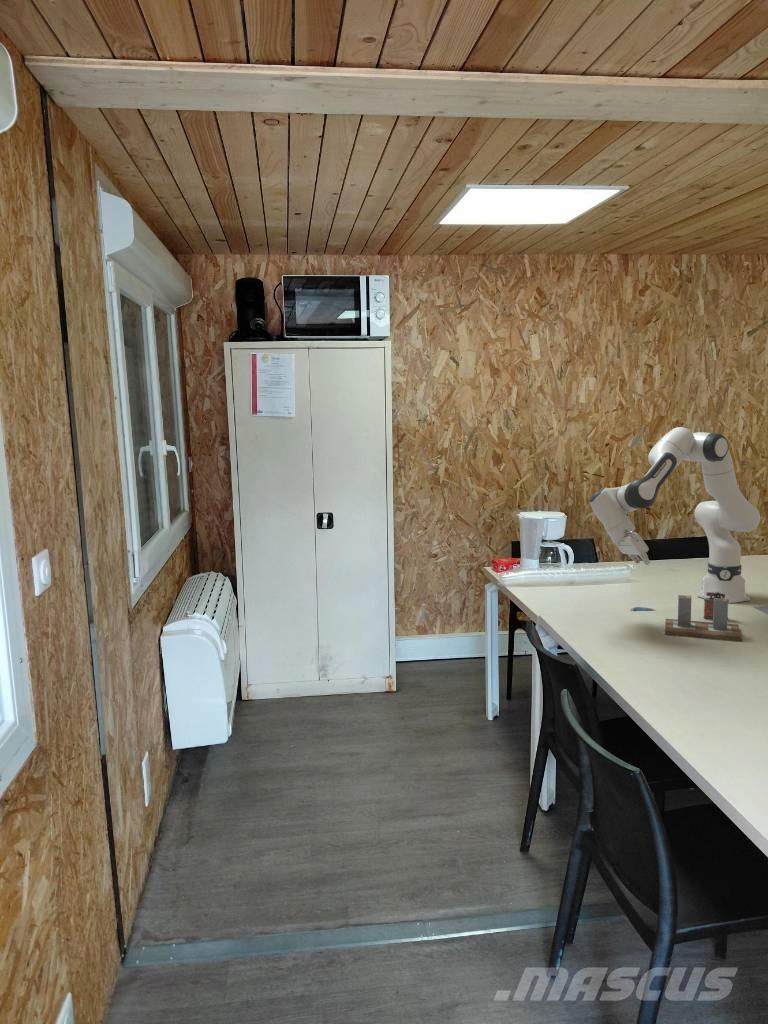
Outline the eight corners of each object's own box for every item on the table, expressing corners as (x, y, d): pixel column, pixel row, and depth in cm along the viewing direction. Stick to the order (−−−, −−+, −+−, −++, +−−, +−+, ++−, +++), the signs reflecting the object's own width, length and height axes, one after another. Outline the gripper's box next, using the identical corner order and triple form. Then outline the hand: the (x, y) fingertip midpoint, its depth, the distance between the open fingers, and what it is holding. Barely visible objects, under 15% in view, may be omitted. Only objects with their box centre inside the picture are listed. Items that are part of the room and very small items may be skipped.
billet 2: (712, 626, 226) (713, 597, 224) (726, 627, 224) (727, 597, 223) (713, 629, 222) (714, 600, 221) (726, 630, 220) (727, 601, 219)
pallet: (665, 622, 236) (665, 618, 236) (738, 628, 227) (738, 623, 227) (664, 634, 224) (664, 629, 224) (741, 641, 214) (741, 636, 214)
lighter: (726, 618, 239) (727, 591, 238) (729, 620, 236) (730, 593, 235) (702, 617, 241) (703, 590, 240) (704, 619, 238) (705, 592, 237)
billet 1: (677, 622, 230) (678, 594, 229) (690, 623, 229) (691, 595, 227) (677, 626, 227) (678, 597, 225) (690, 627, 225) (691, 598, 224)
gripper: (639, 525, 223) (662, 559, 222) (619, 526, 244) (641, 557, 243) (623, 535, 223) (646, 569, 223) (605, 535, 244) (626, 567, 243)
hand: (643, 563), depth 233 cm, fingers open, 8 cm apart
